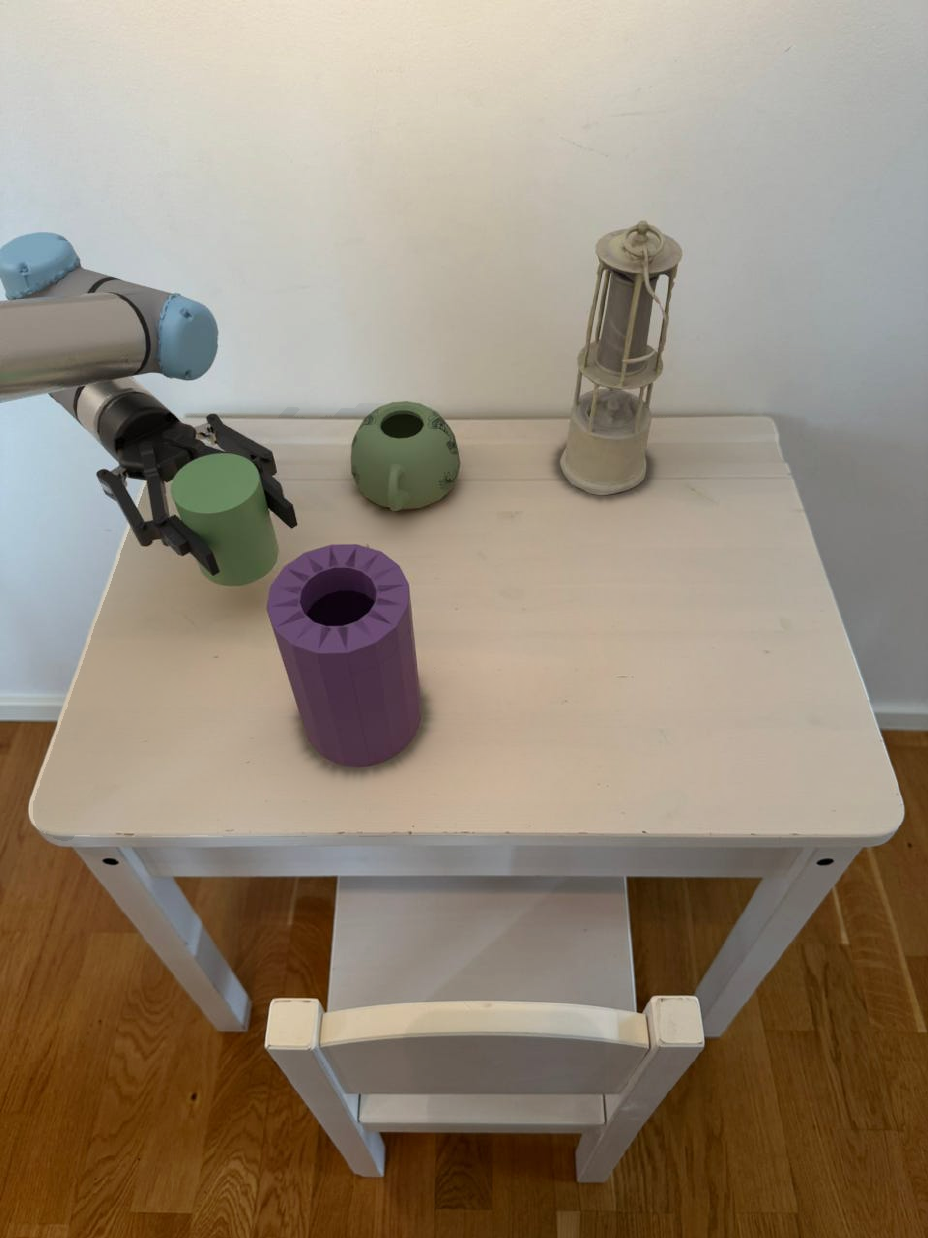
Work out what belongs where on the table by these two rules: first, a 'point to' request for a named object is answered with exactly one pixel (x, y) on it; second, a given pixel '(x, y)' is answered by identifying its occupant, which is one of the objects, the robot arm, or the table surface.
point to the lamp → (619, 362)
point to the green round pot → (404, 456)
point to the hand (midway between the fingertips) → (253, 539)
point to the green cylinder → (227, 516)
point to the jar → (349, 651)
